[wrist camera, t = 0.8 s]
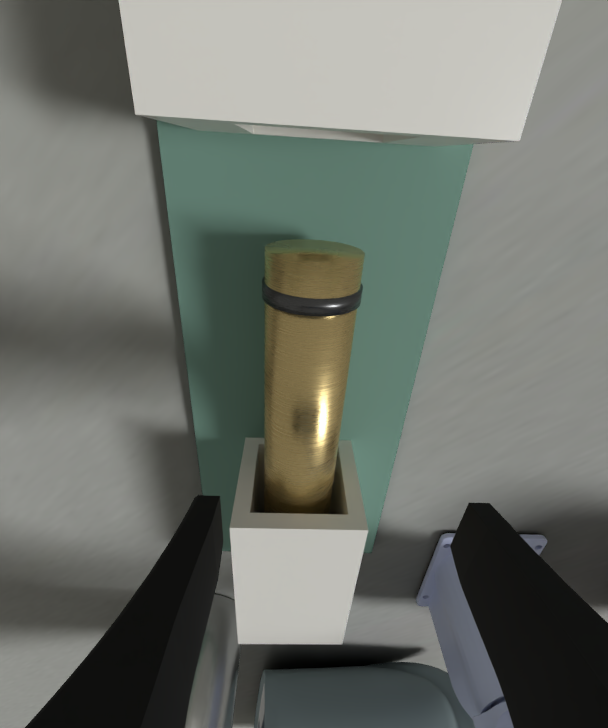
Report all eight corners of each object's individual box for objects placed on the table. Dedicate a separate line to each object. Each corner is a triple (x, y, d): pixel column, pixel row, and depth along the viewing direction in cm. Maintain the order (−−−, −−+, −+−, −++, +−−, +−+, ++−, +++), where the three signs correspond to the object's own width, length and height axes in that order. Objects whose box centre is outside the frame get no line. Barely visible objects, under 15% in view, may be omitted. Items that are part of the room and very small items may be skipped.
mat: (369, 545, 27) (371, 553, 27) (211, 543, 27) (209, 550, 26) (518, -70, 11) (529, -81, 11) (134, -107, 11) (126, -120, 10)
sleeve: (333, 550, 27) (342, 644, 22) (249, 549, 26) (238, 644, 21) (350, 440, 21) (368, 530, 16) (245, 437, 21) (229, 527, 16)
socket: (434, 146, 14) (519, 141, 9) (198, 130, 13) (135, 114, 8) (472, -39, 11) (623, -205, 6) (183, -65, 11) (78, -269, 6)
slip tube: (319, 551, 25) (322, 611, 22) (264, 550, 25) (260, 610, 22) (358, 241, 15) (377, 266, 11) (265, 236, 15) (257, 260, 11)
